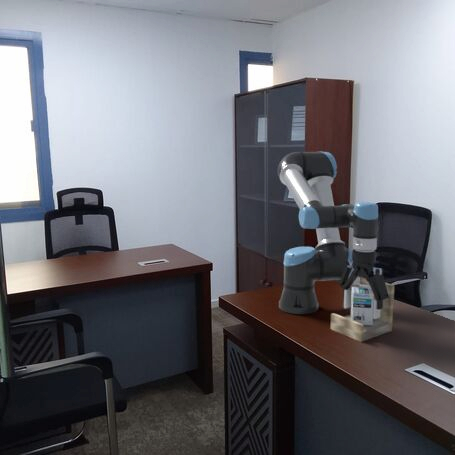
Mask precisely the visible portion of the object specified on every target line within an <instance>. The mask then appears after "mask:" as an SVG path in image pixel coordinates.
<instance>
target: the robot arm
mask: <svg viewBox="0 0 455 455" xmlns="http://www.w3.org/2000/svg"><path fill="white" fill-rule="evenodd" d="M337 169H338V166H337V161H336V159H335V157H334V155H333V154H332V153H330V152H329V151H295V152H294V151H293V152H290V153H288V154H286V155H285V156H284V157H283V158H281V160H280V162H279V164H278V166H277V176H278V178H279V179H278V180H280V182H281V184H283V185H285V186H286V188H287V189H288V191H289V193H290V194H291V197H292V198H293V199H294V201H295V203H296V205H297V206H298V209H299V211H298V212H299V213H298V221H299V225H300V227H301V228H303V229H309V230H310V229H311V230H315V232H316V236H317V237H316V238H317V243H318V244H317V245H316V246H315V248H314V247H312V246H297V247H293V248H289V249H288V250H286V251H285V253H284V255H283V256H284V258H283V289H282V293H281V296H280V298H279V300H278V309H280V310H281V311H282V312H285V313H288V314H294V315H309V314H314V313H316V312H318V310H319V300H318V298H317V294H316V291H315V283H316V282H325V281H339V282H338V286H339V287H341V288H342V297H343V308H344V309H348V308H351V286H352V284H354V282H355V281H356V280H357V278H358V277H359V278H360V277H362V278H365V279H366V281H368V283H369V285H370V287H371V289H372V291H373V293H374V295H375V297H376V299H374V308H373V319H377V318H380V312H381V309H382V308H383V300H384V299H387V298H389V295H388V292H387V288H386V284H385V283H386V282H385V278H384V269H383V267H380V268H379V267H376V266H375V263H376V260H377V251H376V250H377V247H378V246H377V245H378V244H377V243H378V242H377V241H378V237H377V236H378V226H379V225H378V223H379V205H378V204H377V203H375V202H363V201H362V202H361V201H359V202H356V203H355V204H348V203H345V204H341V205H335V202H334V198H333V192H332V187H331V185H332V184H333V183H334V179H335V178H336V176H337V173H338V171H337ZM339 228H351V229H352V249H353V250H352V249H350V248H347V247H346V243H345V241H342V240H341V236H340V230H339Z"/></svg>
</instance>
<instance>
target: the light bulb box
mask: <svg viewBox="0 0 455 455" xmlns="http://www.w3.org/2000/svg"><path fill="white" fill-rule="evenodd" d="M350 287H351V288H350V289H351V307H350V315H351V319H352V320H353V321H356V322H358V323H361V324H363V325H373V304H374V293H373V291H372V289H371V287H370V285H360V283H358V284H357V283H353V284H352V285H351V286H350Z"/></svg>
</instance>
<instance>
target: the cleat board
mask: <svg viewBox="0 0 455 455" xmlns="http://www.w3.org/2000/svg"><path fill="white" fill-rule="evenodd" d="M359 284H360V285H369V283H368V281H366V279H365V278H362V277H359ZM385 284H386V288H387V292H388V295H389V298H387V299H384V300H383V308H382V309H381V312H380V318H377V319H373V325H363V324H361V323H358V322H356V321H353V320H352V319H351V314H349V315H345V316H342V315H340V314H337V313H335V312H333V313H330V330H332V331H333V332H336V333H338V334H341V335H344V336H345V337H346V336H347V337H349V338H351V339H353V340H355V341H358V342H360V343H362V342H364V341H368V340H370V339H373V338H376V337H379V336H381V335H385V334H386V333H391V332H392V331H393V318H394V315H393V314H394V302H395V301H394V300H395V284H392V283H388V282H385ZM374 299H376V297H375V295H374ZM373 308H374V304H373Z"/></svg>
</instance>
